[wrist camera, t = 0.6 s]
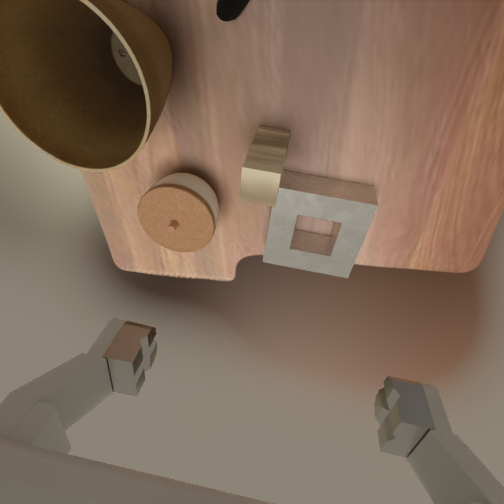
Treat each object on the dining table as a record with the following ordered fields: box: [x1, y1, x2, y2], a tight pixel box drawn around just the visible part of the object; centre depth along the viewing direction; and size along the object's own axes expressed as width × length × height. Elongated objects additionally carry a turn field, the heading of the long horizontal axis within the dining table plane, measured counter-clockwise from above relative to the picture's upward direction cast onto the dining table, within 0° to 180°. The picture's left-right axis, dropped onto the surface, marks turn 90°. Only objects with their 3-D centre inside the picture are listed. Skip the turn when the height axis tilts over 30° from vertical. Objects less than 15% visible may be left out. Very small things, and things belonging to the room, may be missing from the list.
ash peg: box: [239, 126, 290, 207], centre depth 40 cm, size 4×4×12 cm
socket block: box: [263, 170, 378, 278], centre depth 49 cm, size 13×13×5 cm
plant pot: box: [0, 0, 173, 172], centre depth 34 cm, size 15×15×16 cm
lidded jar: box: [138, 173, 219, 252], centre depth 48 cm, size 11×11×9 cm
